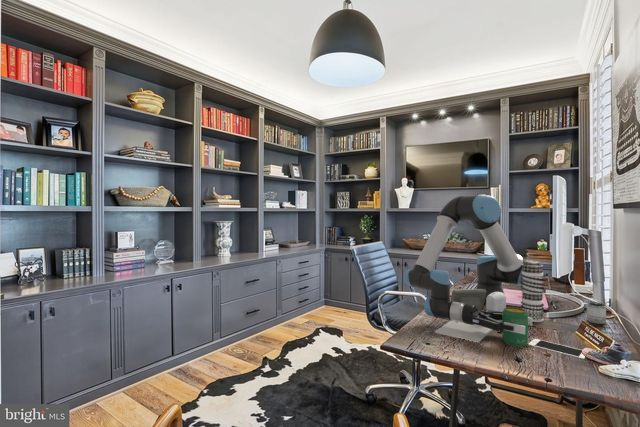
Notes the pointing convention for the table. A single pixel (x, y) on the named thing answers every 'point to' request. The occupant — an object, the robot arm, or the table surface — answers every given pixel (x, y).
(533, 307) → the tower model
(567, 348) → the cell phone
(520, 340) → the beverage can
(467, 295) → the grey translucent bin
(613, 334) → the table surface
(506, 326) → the robot arm
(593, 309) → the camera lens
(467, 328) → the desk mat
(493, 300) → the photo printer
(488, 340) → the table surface
